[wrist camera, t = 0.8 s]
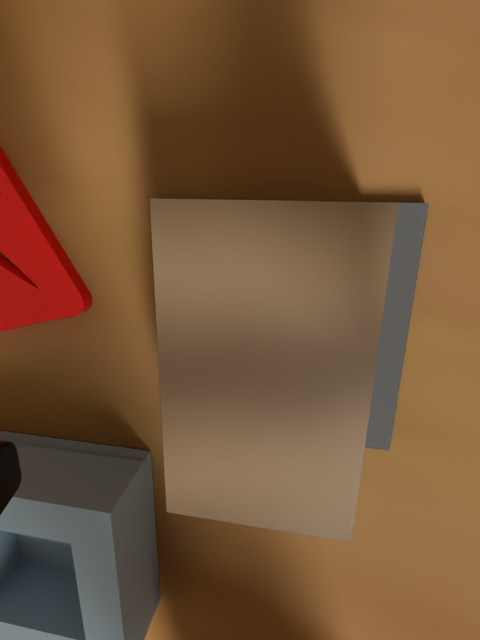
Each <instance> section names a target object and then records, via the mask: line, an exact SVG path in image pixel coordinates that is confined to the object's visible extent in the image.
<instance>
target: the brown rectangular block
mask: <svg viewBox="0 0 480 640" xmlns="http://www.w3.org/2000/svg"><path fill="white" fill-rule="evenodd" d="M397 208H398V202H340V201H279V200H217V199H156V198H150V215H151V233H152V252H153V270H154V289H155V307H156V326H157V344H158V363H159V381H160V400H161V418H162V436H163V455H164V473H165V492H166V510H167V512H168V513H174V514H180V515H186V516H192V517H198V518H205V519H211V520H217V521H223V522H229V523H235V524H241V525H247V526H253V527H259V528H265V529H272V530H278V531H284V532H290V533H296V534H302V535H308V536H314V537H320V538H326V539H332V540H339V541H345V542H351V543H352V538H353V530H354V523H355V516H356V508H357V501H358V494H359V486H360V479H361V472H362V464H363V457H364V450H365V442H366V435H367V428H368V420H369V413H370V406H371V398H372V391H373V384H374V376H375V369H376V362H377V354H378V347H379V340H380V332H381V325H382V318H383V310H384V303H385V296H386V289H387V281H388V274H389V267H390V259H391V252H392V245H393V237H394V230H395V223H396V215H397Z"/></svg>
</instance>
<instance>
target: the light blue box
mask: <svg viewBox="0 0 480 640" xmlns="http://www.w3.org/2000/svg"><path fill="white" fill-rule="evenodd" d="M0 440H3V441H10V442H12V443H14V444H15V446H16V448H17V452H18V457H19V462H20V468H21V473H22V480H21V484H20V486H19V488H18V490H17V491H16V493H15V494H14V496H13V497H12V499H11V500H10V502H9V503H8V505H7V506H6V508H5V509H4V511H3V512H2V514H1V515H0V640H144V639H145V636H146V633H147V631H148V628H149V626H150V623H151V620H152V618H153V615H154V613H155V610H156V607H157V605H158V602H159V600H160V585H159V570H158V554H157V539H156V524H155V509H154V494H153V479H152V464H151V451H146V450H139V449H131V448H124V447H117V446H109V445H102V444H95V443H87V442H80V441H73V440H65V439H58V438H51V437H43V436H36V435H29V434H21V433H14V432H7V431H0Z"/></svg>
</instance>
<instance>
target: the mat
mask: <svg viewBox="0 0 480 640" xmlns="http://www.w3.org/2000/svg"><path fill="white" fill-rule="evenodd" d="M428 205H429V203H398V208H397V215H396V223H395V230H394V237H393V245H392V252H391V259H390V267H389V274H388V281H387V289H386V296H385V303H384V310H383V318H382V325H381V332H380V340H379V347H378V354H377V362H376V369H375V376H374V384H373V391H372V398H371V406H370V413H369V420H368V428H367V435H366V442H365V447H366V448H374V449H382V450H389V448H390V442H391V436H392V430H393V423H394V417H395V411H396V405H397V398H398V392H399V386H400V380H401V373H402V367H403V361H404V355H405V348H406V342H407V336H408V330H409V323H410V317H411V311H412V305H413V298H414V292H415V286H416V280H417V273H418V267H419V261H420V255H421V248H422V242H423V236H424V230H425V223H426V217H427V211H428Z"/></svg>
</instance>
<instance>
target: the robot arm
mask: <svg viewBox="0 0 480 640" xmlns="http://www.w3.org/2000/svg"><path fill="white" fill-rule="evenodd" d="M21 480H22V473H21V468H20V462H19V457H18V452H17V448H16V446H15V444H14V443H12V442H10V441H3V440H0V515H1V514H2V512H3V511H4V509H5V508H6V506H7V505H8V503H9V502H10V500H11V499H12V497H13V496H14V494H15V493H16V491H17V490H18V488H19V486H20V484H21Z"/></svg>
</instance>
